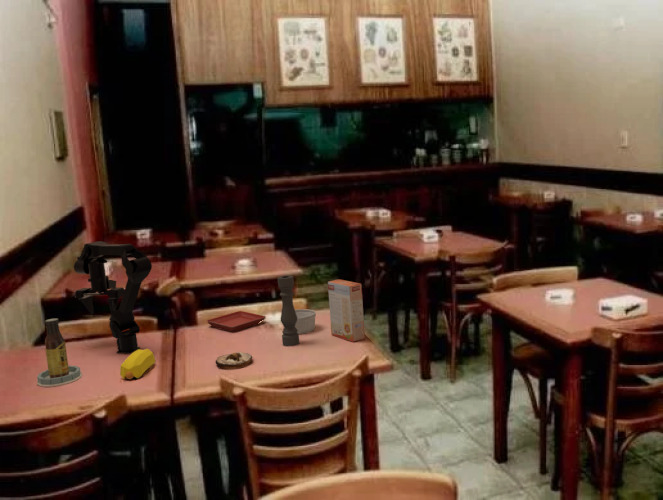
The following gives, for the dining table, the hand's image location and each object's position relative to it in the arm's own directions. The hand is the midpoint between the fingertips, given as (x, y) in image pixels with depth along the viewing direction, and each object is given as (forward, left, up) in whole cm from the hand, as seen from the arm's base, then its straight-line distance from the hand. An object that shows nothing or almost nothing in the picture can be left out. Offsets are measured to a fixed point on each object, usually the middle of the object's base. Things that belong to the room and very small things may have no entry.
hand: (102, 314), depth 247 cm
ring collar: (-5, +34, -13) cm, 37 cm away
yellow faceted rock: (-30, +25, -13) cm, 41 cm away
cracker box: (-93, -16, -13) cm, 95 cm away
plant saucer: (-41, -31, -14) cm, 53 cm away
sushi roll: (-60, +15, -14) cm, 63 cm away
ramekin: (-71, -24, -13) cm, 76 cm away
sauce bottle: (-5, +34, -13) cm, 36 cm away
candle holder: (-73, -7, -13) cm, 74 cm away
